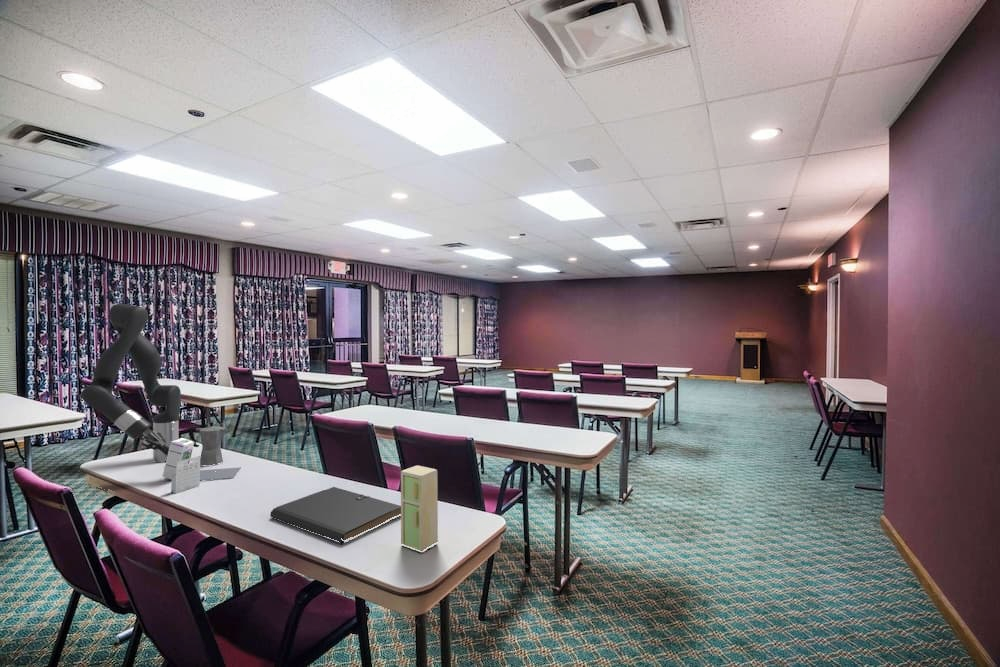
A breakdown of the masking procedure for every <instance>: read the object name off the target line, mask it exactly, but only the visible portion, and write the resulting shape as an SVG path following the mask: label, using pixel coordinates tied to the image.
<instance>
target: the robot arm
mask: <svg viewBox="0 0 1000 667" xmlns="http://www.w3.org/2000/svg"><path fill="white" fill-rule="evenodd" d="M108 316H109V320H110V323H111V325H112V326H113V328H114V330H115V331H116V332H117V334H118V335H119V337H118V338H117V339H116V340H115V341H114V342H113V343H112V344H111V345H110V346H108V347H107V348H106V349H105V350H104V351H103V352H102V354H101V355H100V356H99V358H98V360H97V362H96V365H95V367H94V369H93V372H92V377H93V378H92V380H91V383H90V385H88V386H86V387H85V388H83V390H82V391H81V394H80V396H81V399H82V401H83V402H84V403H86V405H89V407H92V408H93V409H94V410H96V411H98V412H99V413H101V414H102V415H103V416H105V418H106V419H108V420H109V421H111V422H112V423H113V424H114V425H115V426H116V427H117V428H118V429H120V430H121V431H122V432H123V433H125V435H127V436H129V437H130V438H131V439H132V440H136V439H137V438H139V439H140V440H141V441H142V443H141V445H142V446H143V447H146V448H149V449H151V450H152V462H153V461H155V462H154V463H166V462H165V461H166V460H167V456H168V452H169V448H170V444H171V442H172V441H175V440H178V439H180V437H179V435H180V434H179V433H180V432H179V421H180V420H179V418H180V417H179V416H180V412H181V401H182V400H181V399H182V392H181V388H180V387H179V386H178V385H174V384H173V385H172V384H171V385H170V384H169V385H168V384H163V385H161V384H160V383H159V381H158V378H157V376H158V374H159V372H160V370H161V366H162V364H163V363H162V362H163V361H162V358H161V354H160V353H159V351H158V349H157V347H156V346H155V345H154V344H153V343H152V342H151V341H150V340H149V339H148V338H147V337H146V336H145V335H144V334H142V333H141V332H143V331H142V330H144V328H145V326H146V324H147V322H148V320H149V314H148V310H147V309H146V308H144V307H141V306H139V305H132V304H127V303H117V304H114V305H112V306H111V307H110V309H109V313H108ZM127 354H129V356H130V359H131V360H132V362H133V365H134V367H135V369H136V371H137V373H138V375H139V378H140V379H141V381H142V385H143V387H144V390H145V394H146V397H147V400H148V401H149V403H150V405H152V406H154V407H165V410H164V411H163V412H161V413H158V414H155V415H154V416H153V417H152V418H153V420H152V421H153V422H152V423H151V422H149V420H147V419H146V418H144V416H143V415H141V414H140V413H138V412H137V411H135V410H133V409H132V408H130V406H128V405H127V404H125V403H124V402H123V401H121V400H119V399H117V398H116V397H115V396H114V395H112V391H113V389H114V383H115V381H116V378H117V375H118V373H119V371H120V369H121V366H122V364H123V362H124V359H125V358H126V356H127ZM152 424H153V426H152ZM151 427H152V428H153V429H150V428H151Z"/></svg>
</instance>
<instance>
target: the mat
mask: <svg viewBox="0 0 1000 667" xmlns="http://www.w3.org/2000/svg"><path fill="white" fill-rule="evenodd" d="M239 469H241V466H239V467H228V468H227V467H226V468H213V469H200V482H203V481H202V480H210V481H212V480H211V479H222V480H228V479H227V478H233V479H235V477H236V475H237V474H238V473H239V471H240V470H239ZM215 471H216V472H215ZM237 472H238V473H237ZM236 473H237V474H236ZM234 476H235V477H234Z"/></svg>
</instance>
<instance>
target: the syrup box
mask: <svg viewBox="0 0 1000 667" xmlns="http://www.w3.org/2000/svg"><path fill="white" fill-rule="evenodd" d="M193 450H194V441H191V439H189V438H184V437H179V439H178V440H175V441H172V442H171V444H170V448H169V452H168V456H167V460H166V462H165V464H164V469H163V472H162V477H163V478H166V479H169V480H172V479H173V476H174V475H175V474H176V462H178V461H182V460H186V459H189V458H192V453H193ZM189 463H191V461H190V460H188V461H187V462H185V463H184V464H189Z"/></svg>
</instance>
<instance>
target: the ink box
mask: <svg viewBox="0 0 1000 667" xmlns="http://www.w3.org/2000/svg"><path fill="white" fill-rule="evenodd" d="M200 457H201V455H198V456H195V457H194V456H193V457H191V458H189V459H186V460H182V461H178V462H176V474H175V475H174V476H173V479H171V481H170V482H171V484H170V486H171V487H170V493H172V492H173V493H172V494H177V493H182V492H184V491H186V490H190V489H193V488H195V487H196V488H197V487H199V486H200V484H201V483H200V482H201V481H200V470H201V466H200ZM188 460H190V462H189V464H184V463H185V462H187V461H188ZM191 461H192V462H191ZM198 485H199V486H198Z"/></svg>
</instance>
